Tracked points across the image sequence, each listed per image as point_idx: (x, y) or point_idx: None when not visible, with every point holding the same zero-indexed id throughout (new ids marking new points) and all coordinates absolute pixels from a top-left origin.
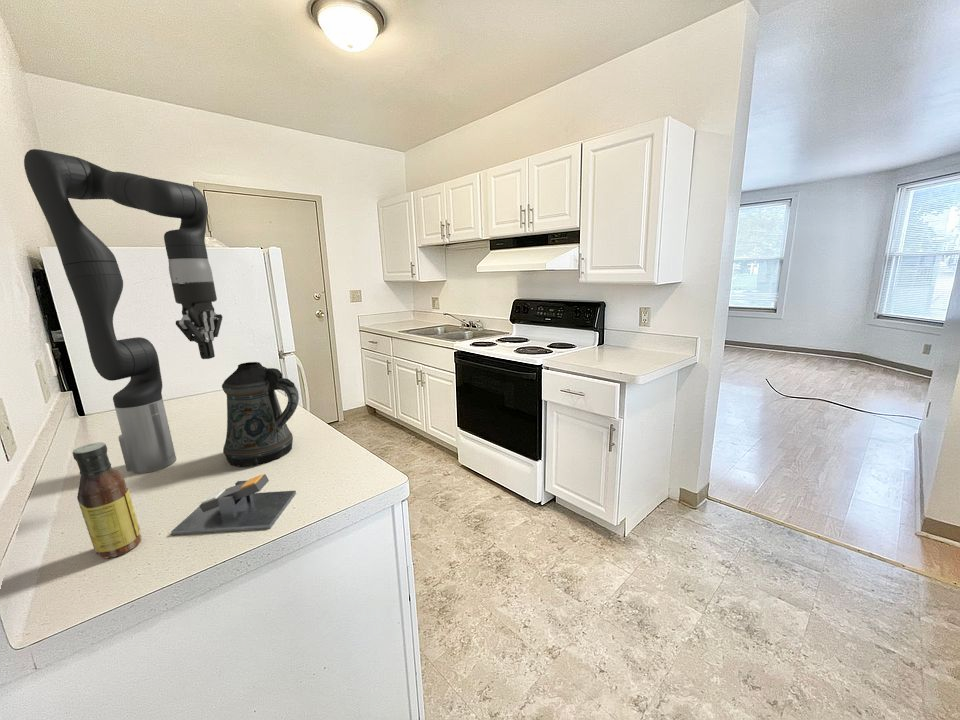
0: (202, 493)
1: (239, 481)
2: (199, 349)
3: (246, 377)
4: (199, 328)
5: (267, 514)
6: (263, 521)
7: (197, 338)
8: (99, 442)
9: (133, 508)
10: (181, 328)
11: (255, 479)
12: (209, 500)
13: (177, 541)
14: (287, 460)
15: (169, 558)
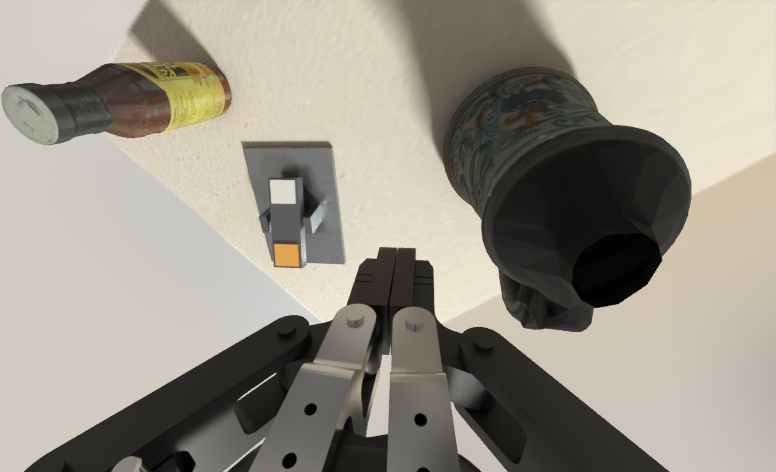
0: (351, 116)
1: (309, 220)
2: (352, 288)
3: (521, 256)
4: (349, 429)
5: None
6: None
7: (272, 378)
8: (51, 118)
9: (192, 121)
10: (123, 427)
11: (286, 261)
12: (271, 193)
13: (237, 163)
14: (459, 211)
15: (210, 175)
